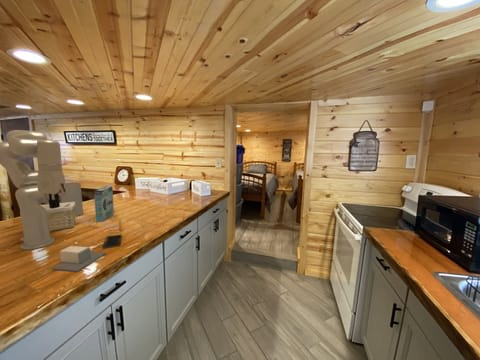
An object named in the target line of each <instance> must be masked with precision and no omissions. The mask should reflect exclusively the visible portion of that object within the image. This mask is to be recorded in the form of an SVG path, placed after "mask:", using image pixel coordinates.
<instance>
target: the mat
mask: <svg viewBox="0 0 480 360" xmlns="http://www.w3.org/2000/svg"><path fill="white" fill-rule="evenodd" d="M90 253H91V258H89V259H88V260H86V261H84V262H83V263H71V262H61V263H59V264H57V265H55V266H54V267H52V268H51V270H52V271H61V270H62V272H74V273H78V272H80V271H82V270H83V269H85V268H86V267H88V266H89V265H91V264H92V263H94V262H96V261H97V260H100V259H101V258H103V257H104V256H106V255H107V252H101V251H91V250H90Z"/></svg>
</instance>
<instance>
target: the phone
mask: <svg viewBox="0 0 480 360" xmlns="http://www.w3.org/2000/svg"><path fill="white" fill-rule="evenodd" d="M122 237H123V235H122V234H117V235H116V234H115V235H109V236H106V237H105V239H104V242H103V244H102V249H103V250H105V249H112V248H116V247H120V246H121V243H122Z"/></svg>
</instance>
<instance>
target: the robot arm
mask: <svg viewBox="0 0 480 360" xmlns="http://www.w3.org/2000/svg"><path fill="white" fill-rule="evenodd" d="M5 138H6V141H2V142H1V141H0V165H1V167H3V168H4V169H5V170H6V172H7V174H8V176H9V178H10V179H11V182H12V184H13V185H14V186H15V188H18V189H17V190H15V199H16V201H17V205H18V207H19V213H20V212H21V216H20V217H21V226H22V231H23V232H22V234H23V237H21V238H20V241H21V242H22V241H23V243H22V244H21V245H20V249H21V250H22V251H23V250H25V251H27V250H28V251H29V250H34V249H35V250H36V249H41V248H44V247H47V246H49V245H52V244H53V243H55V241H56V239H55V238H54V237H51V231H50V230H49V221H48V213H47V210H46V209H45V208H44V207H42V206H41V205H42V204H44V203H48V204H49V208H52V209H54V208H58V207H60V203H61V202H60V201H61V198H62V197H63V196H64V195H65V194H64V192H65V191H66V183H67V182H66V178H65V174H64V172H63V164H62V162H63V161H62V152H61V144H60V142H59V141H57V140H52V139H51V140H49V139H48V137H47V135H46V134H45V133H43V132H41V131H37V130H25V129H14V130H13V129H12V130H10V131H8V132H7V133H6V135H5ZM21 158H24V159H27V158H28V159H32V158H35V159H36V158H37V164H38V169H36V170H34V169H33V170H32V169H31V166H30V165H29V164H28V163H26V162H25V161H24V160H21Z"/></svg>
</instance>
